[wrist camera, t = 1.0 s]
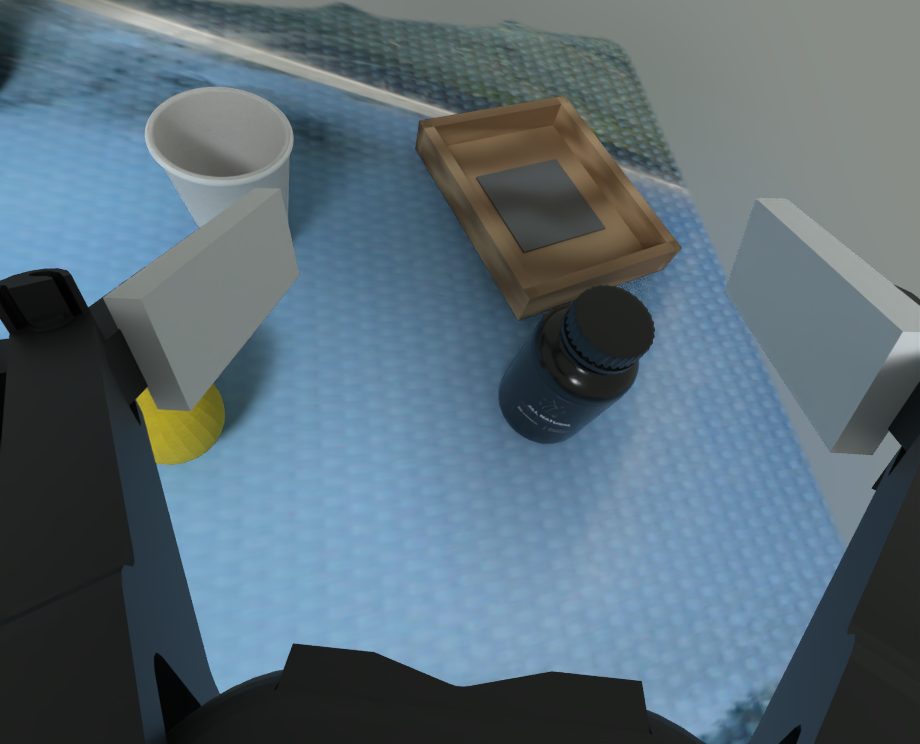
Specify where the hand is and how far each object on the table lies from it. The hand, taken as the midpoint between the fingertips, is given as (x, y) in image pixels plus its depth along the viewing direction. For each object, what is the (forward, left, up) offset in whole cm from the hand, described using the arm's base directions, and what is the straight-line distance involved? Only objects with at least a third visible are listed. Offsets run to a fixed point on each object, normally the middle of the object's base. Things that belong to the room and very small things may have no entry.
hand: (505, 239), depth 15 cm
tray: (-17, +20, -22) cm, 35 cm away
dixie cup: (-21, -5, -23) cm, 31 cm away
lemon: (-7, -13, -23) cm, 27 cm away
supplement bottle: (0, +10, -23) cm, 25 cm away
